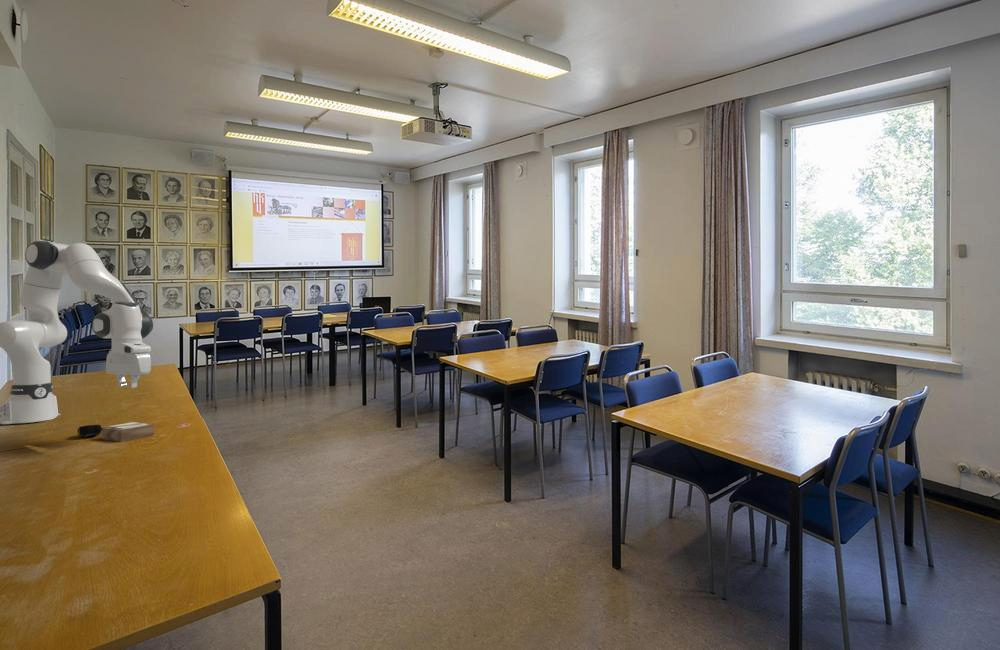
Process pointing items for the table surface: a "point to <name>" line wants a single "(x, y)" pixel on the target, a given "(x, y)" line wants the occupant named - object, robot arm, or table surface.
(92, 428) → the tape measure
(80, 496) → the table surface
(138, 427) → the brown white square block
